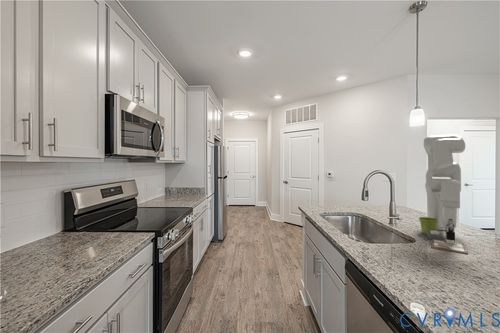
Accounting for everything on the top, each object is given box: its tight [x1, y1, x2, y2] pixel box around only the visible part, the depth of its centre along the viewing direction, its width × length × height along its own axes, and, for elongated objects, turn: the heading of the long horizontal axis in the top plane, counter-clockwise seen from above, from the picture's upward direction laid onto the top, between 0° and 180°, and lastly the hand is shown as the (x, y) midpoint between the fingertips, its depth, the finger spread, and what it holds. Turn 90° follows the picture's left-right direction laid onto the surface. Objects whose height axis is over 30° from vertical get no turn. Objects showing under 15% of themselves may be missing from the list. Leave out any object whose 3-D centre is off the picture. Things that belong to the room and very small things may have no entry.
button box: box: [426, 231, 444, 240], centre depth 126 cm, size 7×7×3 cm
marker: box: [445, 226, 455, 244], centre depth 116 cm, size 3×3×8 cm
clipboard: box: [431, 239, 469, 255], centre depth 114 cm, size 16×13×1 cm
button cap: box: [430, 230, 441, 235], centre depth 126 cm, size 4×4×2 cm
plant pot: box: [418, 216, 438, 235], centre depth 136 cm, size 9×9×9 cm
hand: (450, 237), depth 116 cm, fingers open, 9 cm apart
